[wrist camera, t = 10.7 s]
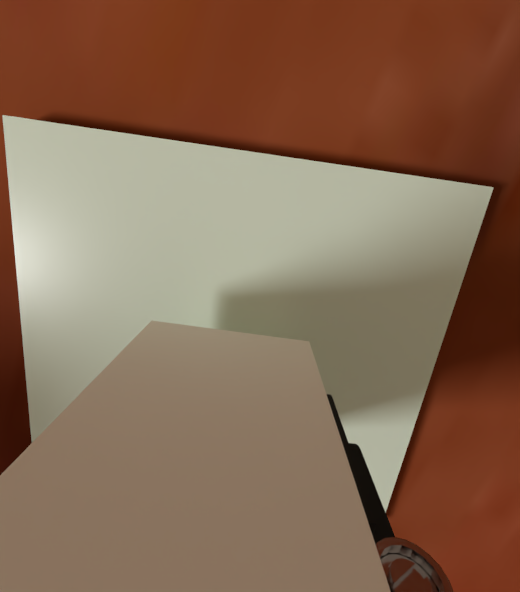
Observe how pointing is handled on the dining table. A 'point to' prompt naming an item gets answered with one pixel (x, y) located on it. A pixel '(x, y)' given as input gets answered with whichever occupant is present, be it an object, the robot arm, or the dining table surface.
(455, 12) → the dining table surface
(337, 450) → the cream block
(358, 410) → the sage mat
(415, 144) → the dining table surface
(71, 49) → the dining table surface
